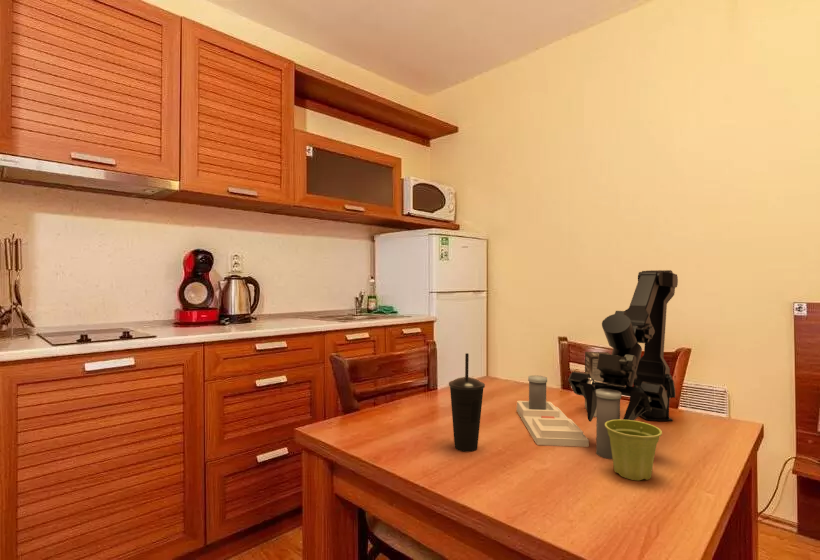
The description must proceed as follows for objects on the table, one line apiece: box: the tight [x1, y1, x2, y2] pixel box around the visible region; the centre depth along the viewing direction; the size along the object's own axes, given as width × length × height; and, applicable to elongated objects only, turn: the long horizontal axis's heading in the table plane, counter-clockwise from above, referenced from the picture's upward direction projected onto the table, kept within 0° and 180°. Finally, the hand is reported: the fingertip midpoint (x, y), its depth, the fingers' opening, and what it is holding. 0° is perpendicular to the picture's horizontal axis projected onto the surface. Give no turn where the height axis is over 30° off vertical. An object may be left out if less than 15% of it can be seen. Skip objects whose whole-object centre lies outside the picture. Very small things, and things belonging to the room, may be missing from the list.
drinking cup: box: [448, 352, 486, 453], centre depth 92 cm, size 8×8×20 cm
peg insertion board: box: [516, 374, 590, 448], centre depth 106 cm, size 11×25×10 cm, turn 176°
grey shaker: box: [595, 389, 622, 460], centre depth 89 cm, size 5×5×13 cm
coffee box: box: [584, 351, 612, 418], centre depth 119 cm, size 9×6×16 cm
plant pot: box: [605, 418, 663, 482], centre depth 80 cm, size 9×9×9 cm
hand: (605, 424), depth 88 cm, fingers open, 6 cm apart
